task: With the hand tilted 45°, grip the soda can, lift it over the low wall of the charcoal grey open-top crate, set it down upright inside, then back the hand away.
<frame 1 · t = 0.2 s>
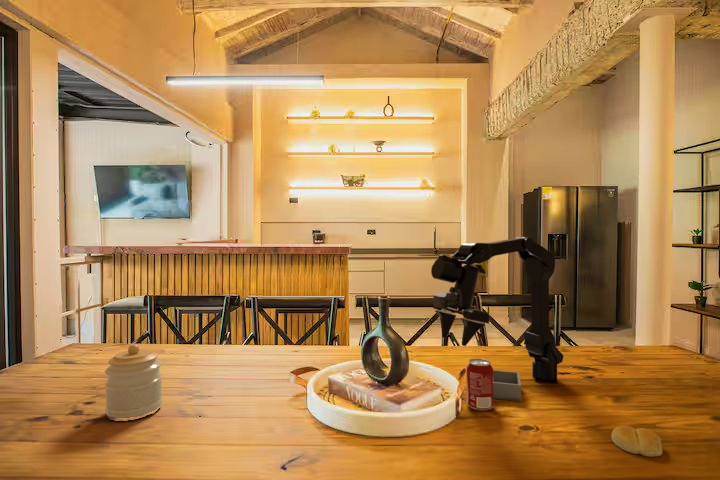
hand: (453, 341, 114), 16 cm above the table, tool tilted 15°, fingers open, 9 cm apart
jar: (134, 412, 107), on the table
bread roll: (637, 448, 87), on the table
soda can: (480, 407, 107), on the table
grey crate: (499, 392, 117), on the table
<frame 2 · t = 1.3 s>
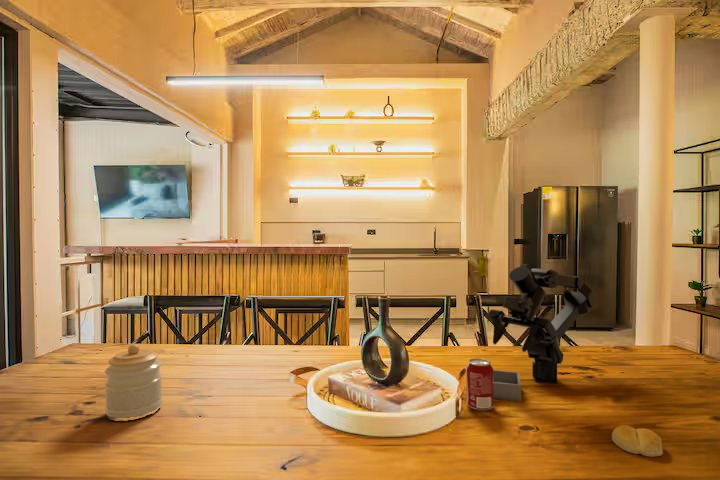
hand: (508, 347, 115), 13 cm above the table, tool tilted 45°, fingers open, 9 cm apart
nothing on the table moved.
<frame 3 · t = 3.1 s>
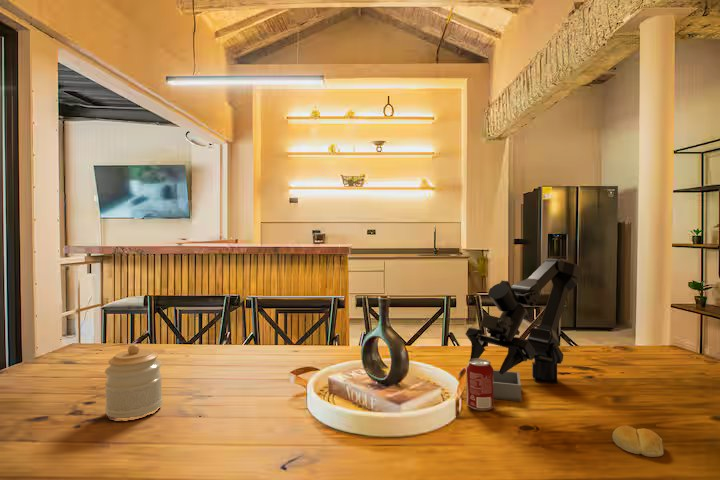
hand: (485, 368, 109), 10 cm above the table, tool tilted 45°, fingers open, 9 cm apart
nothing on the table moved.
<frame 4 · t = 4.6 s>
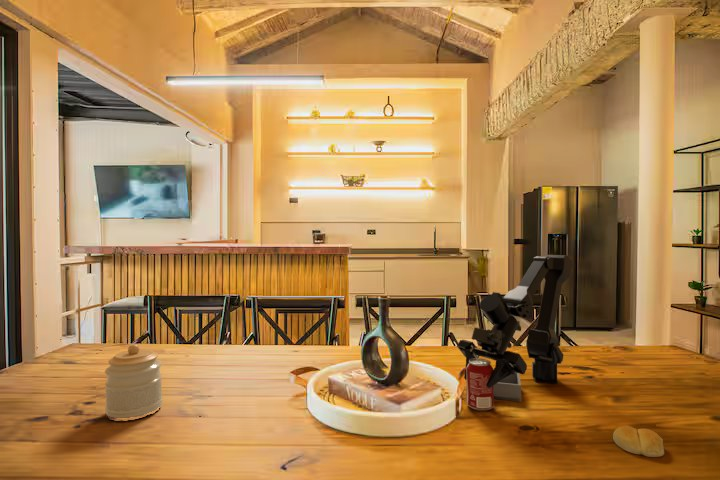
hand: (476, 383, 107), 7 cm above the table, tool tilted 45°, fingers closed on soda can, 7 cm apart
soda can: (480, 407, 107), on the table, touching gripper
everything else where it was.
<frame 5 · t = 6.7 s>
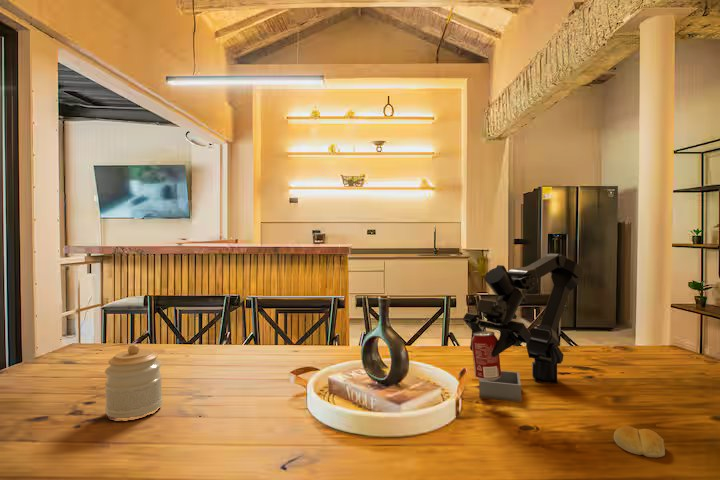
hand: (481, 352, 109), 14 cm above the table, tool tilted 45°, fingers closed on soda can, 7 cm apart
soda can: (488, 379, 110), point 7 cm above the table, touching gripper
everything else where it was.
when the fingers open (9 cm above the table, at t = 9.1 s): soda can drops 1 cm, resting on grey crate.
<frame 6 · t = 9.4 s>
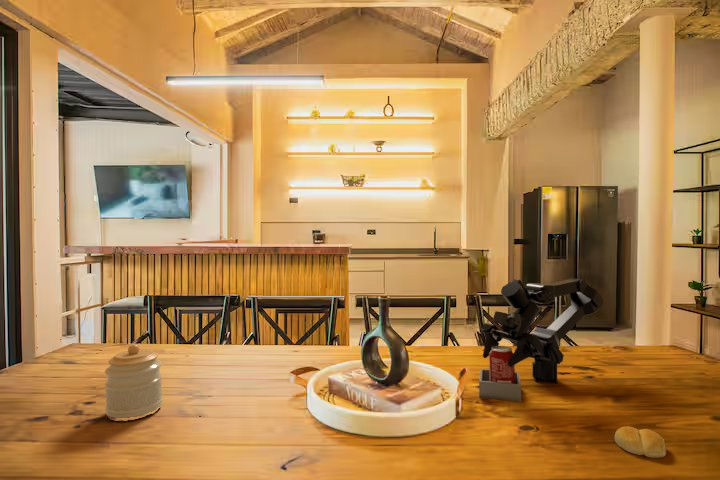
hand: (496, 361, 116), 9 cm above the table, tool tilted 45°, fingers open, 9 cm apart
soda can: (502, 390, 116), point 1 cm above the table, touching grey crate
everything else where it was.
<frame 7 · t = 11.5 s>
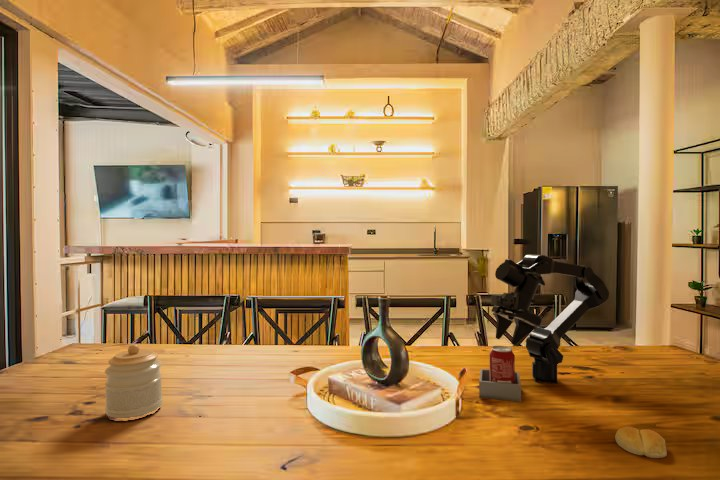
hand: (504, 341, 122), 13 cm above the table, tool tilted 25°, fingers open, 9 cm apart
nothing on the table moved.
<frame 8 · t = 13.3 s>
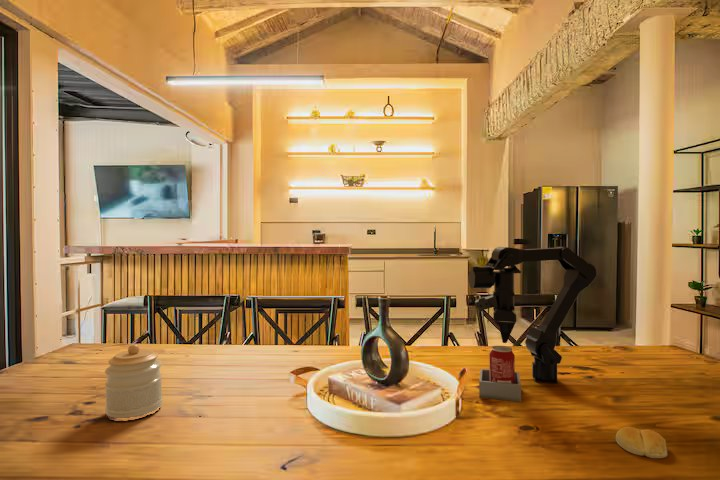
hand: (504, 339, 125), 13 cm above the table, tool pointing down, fingers open, 9 cm apart
nothing on the table moved.
at the end: soda can 0.7 cm off-centre on the grey crate, point 0.6 cm above the grey crate's base; soda can tilted 0°; the gripper is holding nothing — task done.
